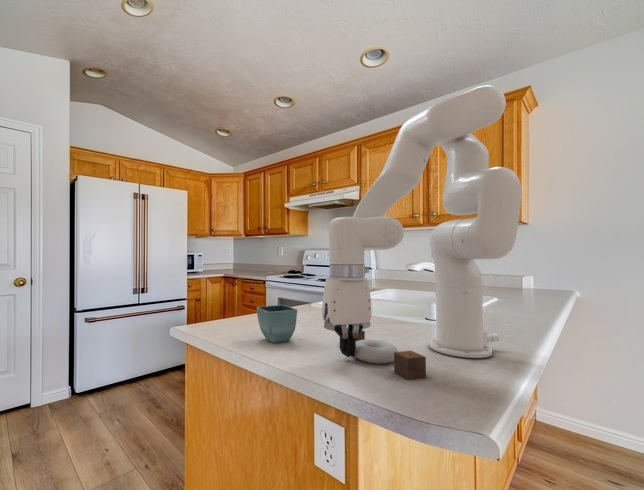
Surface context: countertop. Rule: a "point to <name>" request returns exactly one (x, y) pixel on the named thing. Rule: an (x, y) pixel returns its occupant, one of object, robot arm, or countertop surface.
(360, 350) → the donut
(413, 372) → the walnut block
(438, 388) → the countertop surface
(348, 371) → the countertop surface
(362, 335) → the walnut block
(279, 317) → the flower pot
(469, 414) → the countertop surface
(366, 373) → the countertop surface
